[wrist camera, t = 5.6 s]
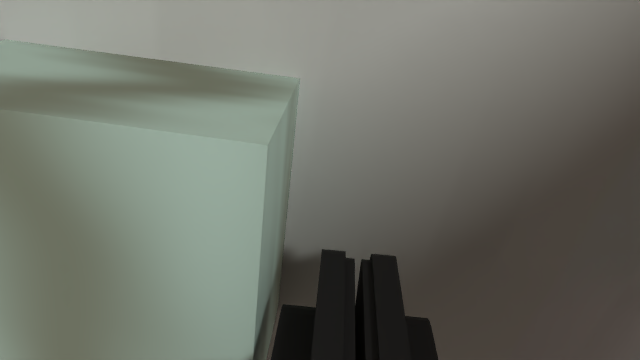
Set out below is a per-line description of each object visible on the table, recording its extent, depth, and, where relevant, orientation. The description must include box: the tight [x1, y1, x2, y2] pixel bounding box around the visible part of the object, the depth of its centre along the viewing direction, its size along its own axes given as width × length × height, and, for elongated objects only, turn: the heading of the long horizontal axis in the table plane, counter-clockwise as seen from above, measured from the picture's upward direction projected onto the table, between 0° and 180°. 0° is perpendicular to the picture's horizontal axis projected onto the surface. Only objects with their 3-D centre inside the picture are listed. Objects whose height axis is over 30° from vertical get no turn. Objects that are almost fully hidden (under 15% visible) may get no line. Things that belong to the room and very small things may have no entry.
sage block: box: [0, 40, 300, 360], centre depth 10 cm, size 7×7×4 cm
